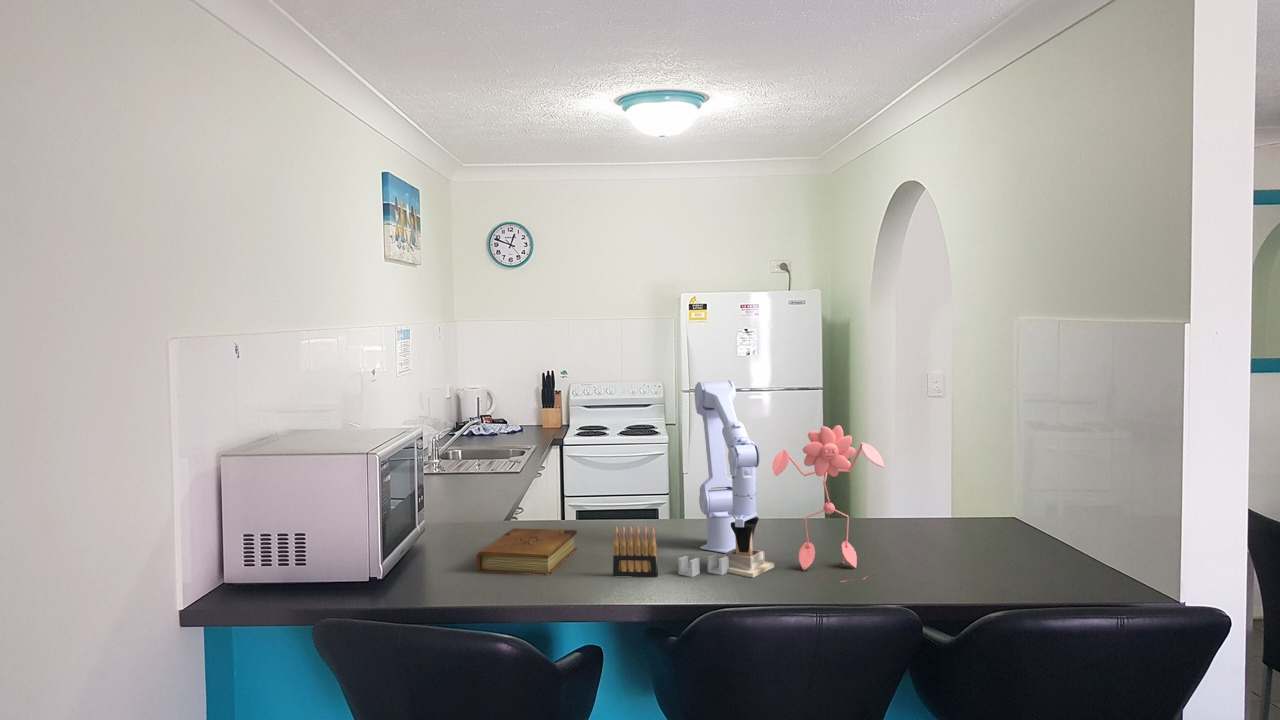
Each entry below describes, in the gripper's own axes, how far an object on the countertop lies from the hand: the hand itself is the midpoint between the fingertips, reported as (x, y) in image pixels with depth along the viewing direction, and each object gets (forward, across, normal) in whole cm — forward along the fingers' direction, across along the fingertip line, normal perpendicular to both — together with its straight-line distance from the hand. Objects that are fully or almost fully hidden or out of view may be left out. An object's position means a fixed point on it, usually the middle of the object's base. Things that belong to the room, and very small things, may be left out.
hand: (745, 549), depth 207 cm
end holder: (+5, 0, 0) cm, 5 cm away
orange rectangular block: (+2, 0, 0) cm, 2 cm away
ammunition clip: (+5, +11, -25) cm, 27 cm away
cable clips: (+5, +6, -9) cm, 12 cm away
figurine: (+5, -2, +20) cm, 21 cm away
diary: (+5, +4, -55) cm, 56 cm away
